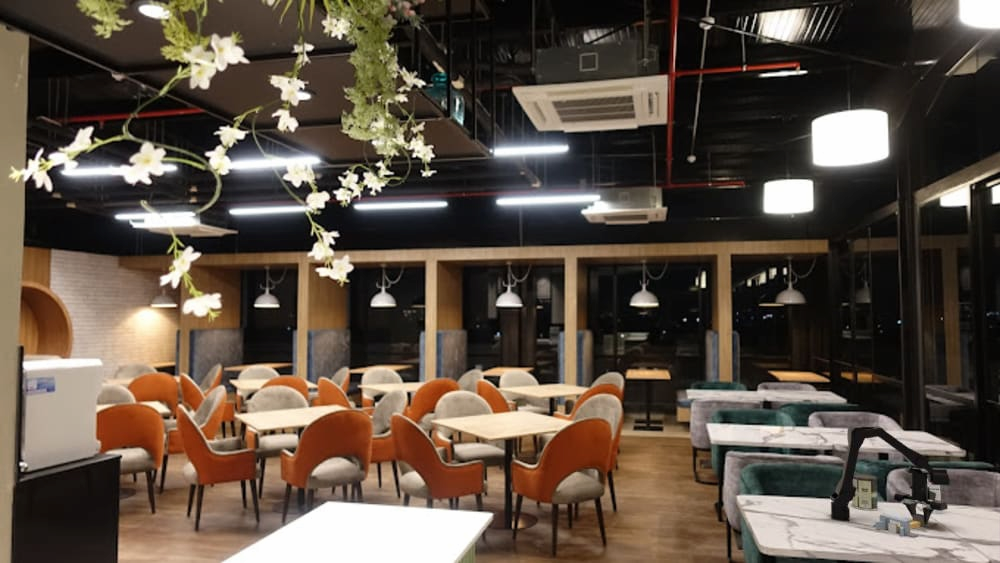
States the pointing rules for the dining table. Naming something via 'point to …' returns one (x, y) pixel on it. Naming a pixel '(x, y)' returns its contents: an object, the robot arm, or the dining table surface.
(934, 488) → the syrup box
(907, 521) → the blue-grey bracket
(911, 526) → the yellow handled hammer
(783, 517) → the dining table surface
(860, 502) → the coffee can
